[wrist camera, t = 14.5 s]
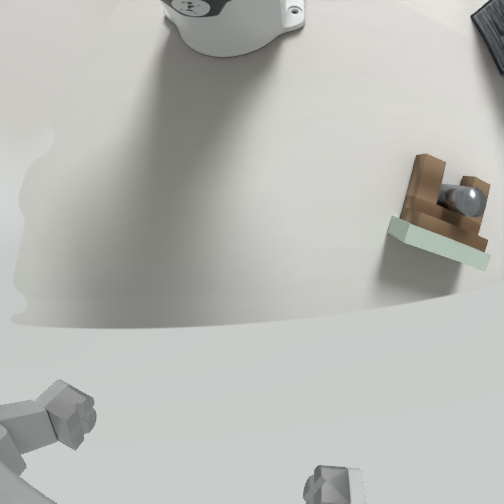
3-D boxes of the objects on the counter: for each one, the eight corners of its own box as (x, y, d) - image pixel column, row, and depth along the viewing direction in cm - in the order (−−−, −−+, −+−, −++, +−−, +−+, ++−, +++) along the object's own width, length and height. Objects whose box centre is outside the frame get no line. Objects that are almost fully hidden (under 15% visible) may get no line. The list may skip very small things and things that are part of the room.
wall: (392, 216, 33) (409, 223, 27) (466, 243, 32) (490, 255, 26) (387, 232, 33) (403, 242, 27) (462, 258, 32) (485, 271, 26)
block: (416, 155, 30) (435, 152, 25) (478, 183, 29) (501, 186, 24) (400, 218, 32) (417, 226, 27) (462, 242, 31) (484, 252, 26)
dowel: (435, 180, 31) (468, 183, 23) (453, 188, 30) (488, 193, 23) (429, 203, 31) (461, 212, 24) (448, 211, 31) (482, 221, 23)
